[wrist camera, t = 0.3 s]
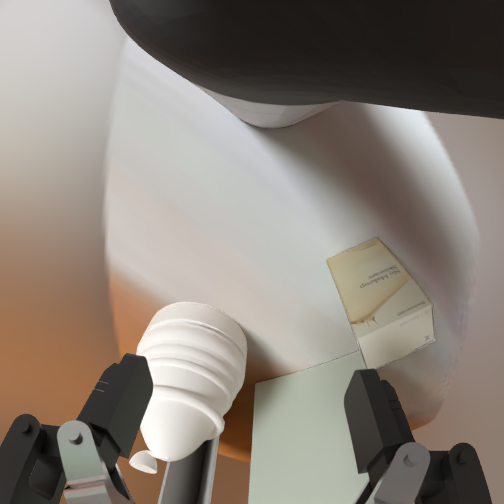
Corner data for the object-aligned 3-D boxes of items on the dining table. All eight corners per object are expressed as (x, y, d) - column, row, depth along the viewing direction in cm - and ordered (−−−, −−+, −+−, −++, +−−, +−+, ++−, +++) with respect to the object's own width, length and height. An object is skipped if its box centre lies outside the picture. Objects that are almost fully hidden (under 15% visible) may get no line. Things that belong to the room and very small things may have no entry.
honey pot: (172, 377, 36) (140, 482, 20) (133, 308, 31) (65, 423, 15) (257, 370, 34) (251, 494, 18) (231, 293, 30) (201, 446, 13)
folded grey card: (189, 378, 36) (143, 570, 8) (226, 387, 36) (199, 582, 9) (180, 420, 42) (148, 561, 14) (210, 427, 42) (187, 570, 14)
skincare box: (377, 235, 26) (436, 299, 15) (386, 269, 28) (438, 340, 16) (323, 259, 27) (355, 338, 16) (336, 292, 29) (367, 375, 18)
